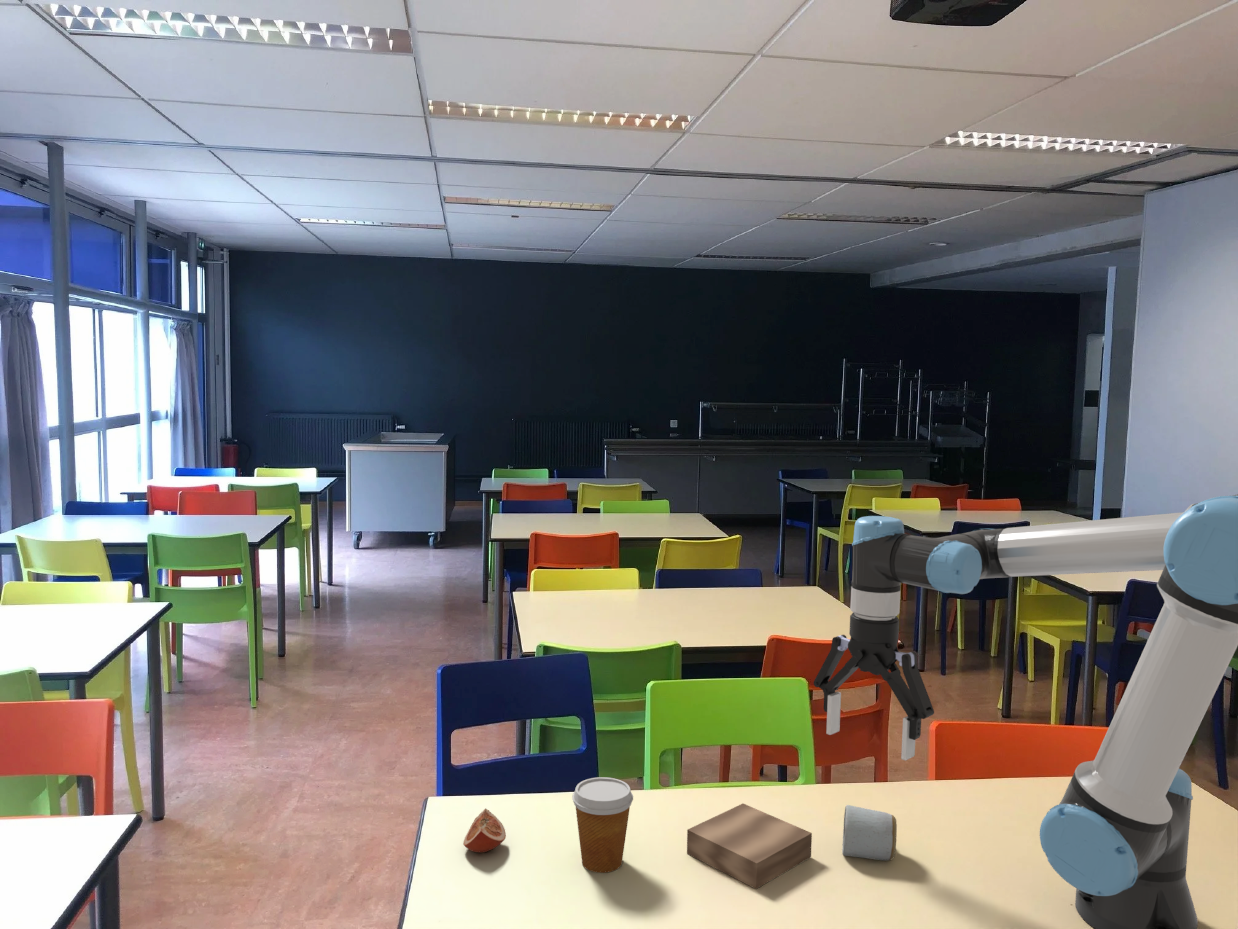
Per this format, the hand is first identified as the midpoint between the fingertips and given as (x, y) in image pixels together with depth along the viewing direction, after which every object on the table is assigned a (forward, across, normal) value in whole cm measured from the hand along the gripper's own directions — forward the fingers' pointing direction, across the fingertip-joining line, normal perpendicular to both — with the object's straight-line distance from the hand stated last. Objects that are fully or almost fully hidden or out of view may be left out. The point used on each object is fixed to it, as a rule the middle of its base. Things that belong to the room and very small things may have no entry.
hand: (869, 744), depth 148 cm
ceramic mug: (+18, 0, 0) cm, 18 cm away
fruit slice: (+18, +42, +45) cm, 64 cm away
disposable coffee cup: (+18, +26, +34) cm, 46 cm away
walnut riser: (+18, +12, +15) cm, 26 cm away
